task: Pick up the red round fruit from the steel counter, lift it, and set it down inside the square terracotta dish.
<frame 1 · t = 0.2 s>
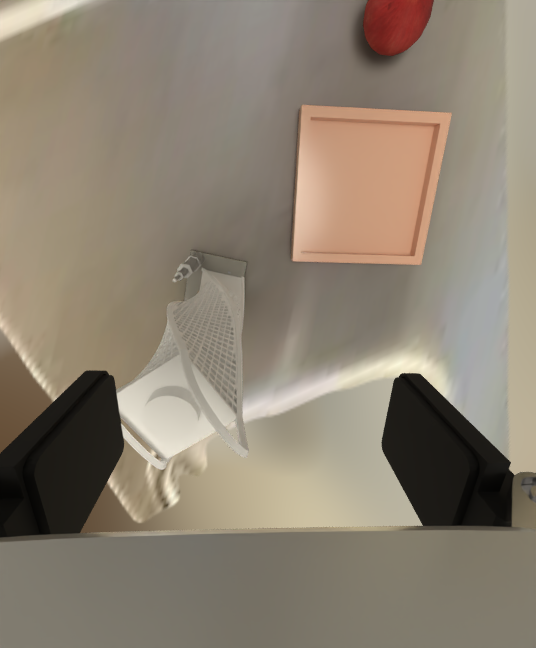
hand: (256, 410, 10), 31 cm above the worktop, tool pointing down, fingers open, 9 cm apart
dish: (361, 192, 37), on the worktop
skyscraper: (220, 287, 40), on the worktop
red round fruit: (380, 35, 32), on the worktop
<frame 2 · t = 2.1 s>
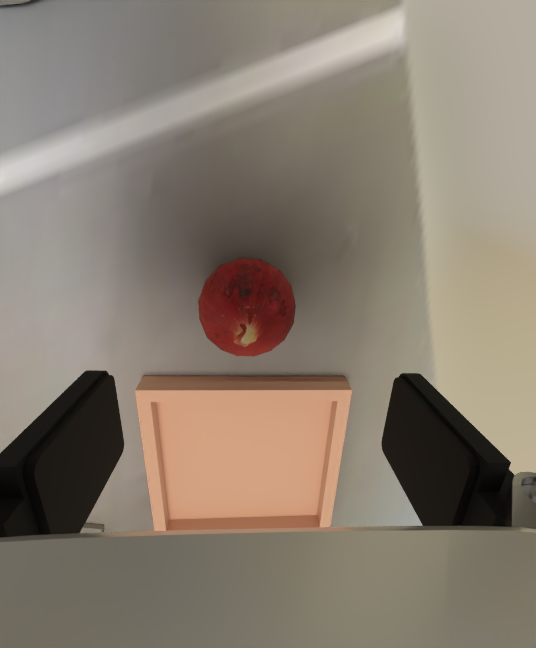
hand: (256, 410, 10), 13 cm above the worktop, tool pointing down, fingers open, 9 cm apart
dish: (245, 453, 28), on the worktop
red round fruit: (247, 290, 22), on the worktop
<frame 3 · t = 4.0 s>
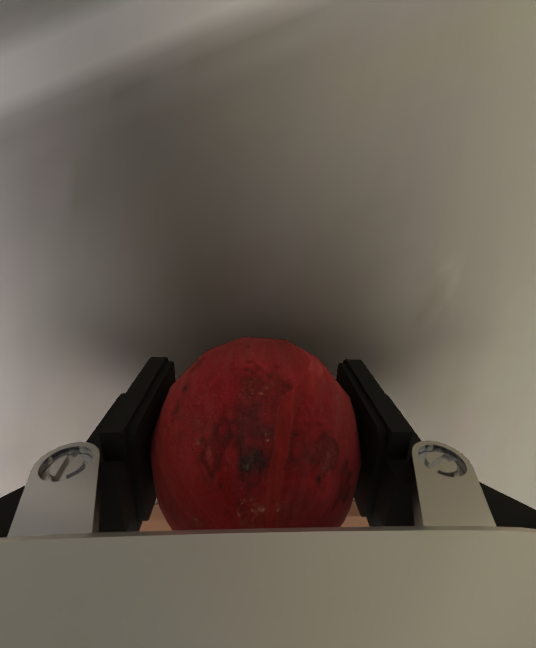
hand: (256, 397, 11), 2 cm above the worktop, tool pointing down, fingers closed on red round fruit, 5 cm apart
dish: (249, 605, 18), on the worktop
red round fruit: (255, 372, 13), on the worktop, touching gripper
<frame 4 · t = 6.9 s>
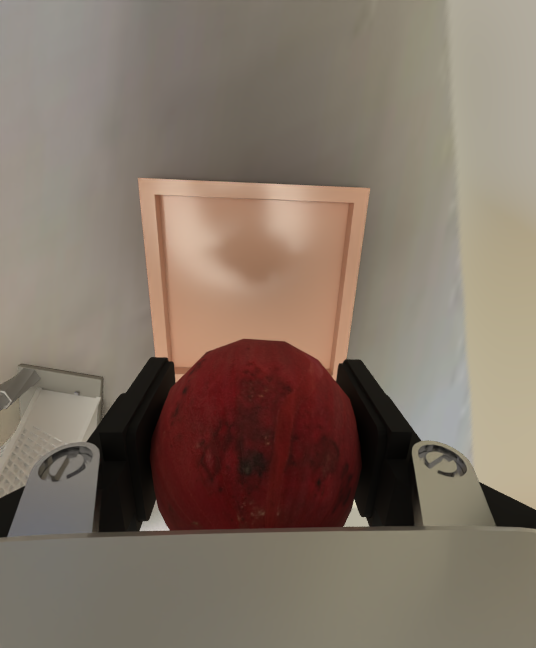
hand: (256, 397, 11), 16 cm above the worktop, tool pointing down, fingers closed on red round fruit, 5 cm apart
dish: (253, 289, 26), on the worktop
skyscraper: (71, 407, 29), on the worktop
red round fruit: (255, 374, 13), point 14 cm above the worktop, touching gripper
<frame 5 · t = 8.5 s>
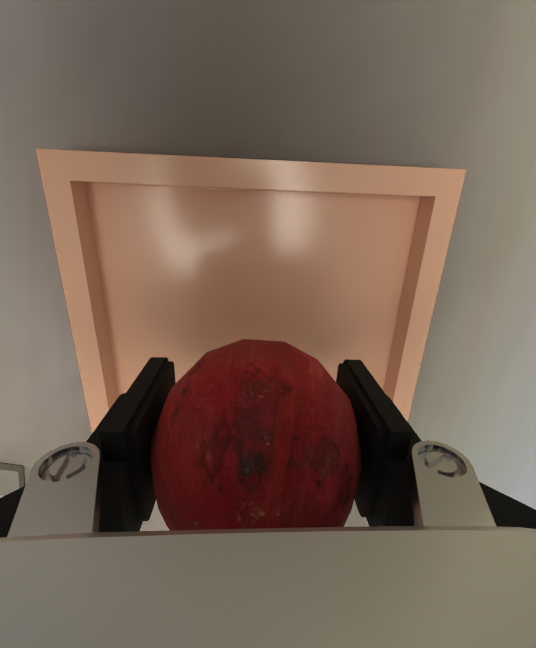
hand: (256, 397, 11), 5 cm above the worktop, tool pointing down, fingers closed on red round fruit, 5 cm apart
dish: (254, 336, 16), on the worktop
red round fruit: (255, 374, 13), point 4 cm above the worktop, touching gripper
when the fingers open (4 cm above the worktop, at t = 9.8 s): red round fruit drops 1 cm, resting on dish.
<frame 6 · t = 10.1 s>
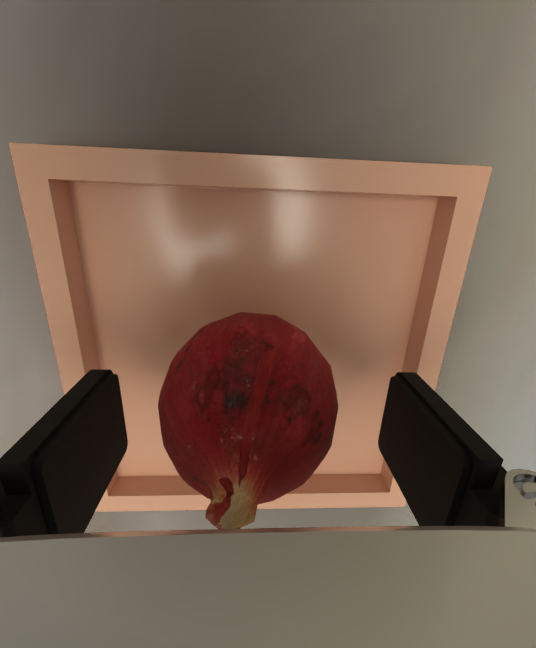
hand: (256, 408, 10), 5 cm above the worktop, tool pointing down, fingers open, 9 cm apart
dish: (255, 349, 15), on the worktop
red round fruit: (257, 352, 14), point 1 cm above the worktop, touching dish
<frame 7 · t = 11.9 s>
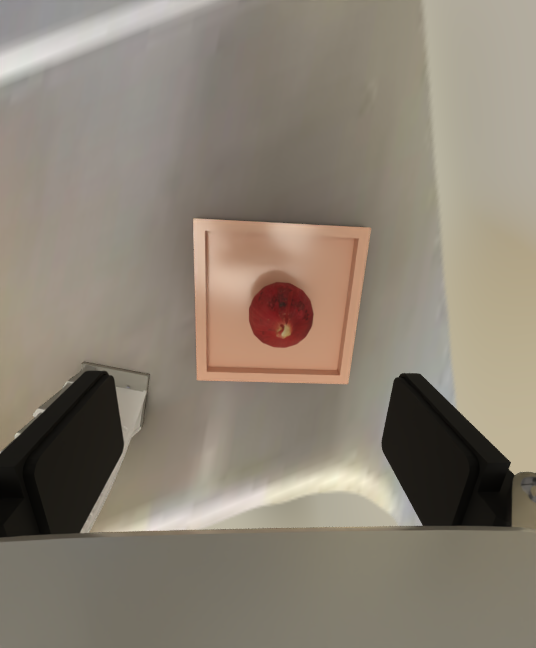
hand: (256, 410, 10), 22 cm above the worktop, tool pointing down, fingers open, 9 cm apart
dish: (276, 304, 32), on the worktop
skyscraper: (121, 400, 35), on the worktop
red round fruit: (277, 303, 31), point 1 cm above the worktop, touching dish
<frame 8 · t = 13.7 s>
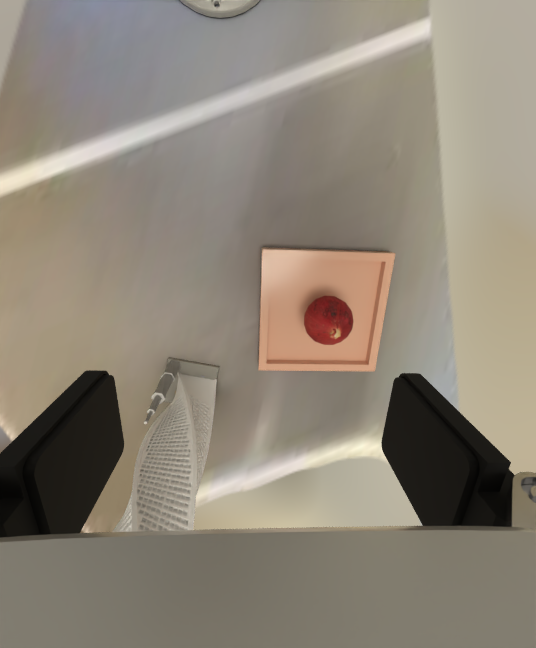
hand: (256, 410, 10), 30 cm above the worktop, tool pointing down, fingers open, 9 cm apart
dish: (319, 310, 41), on the worktop
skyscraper: (195, 386, 45), on the worktop
red round fruit: (321, 310, 41), point 1 cm above the worktop, touching dish
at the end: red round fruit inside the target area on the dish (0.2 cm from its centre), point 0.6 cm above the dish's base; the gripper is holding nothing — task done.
